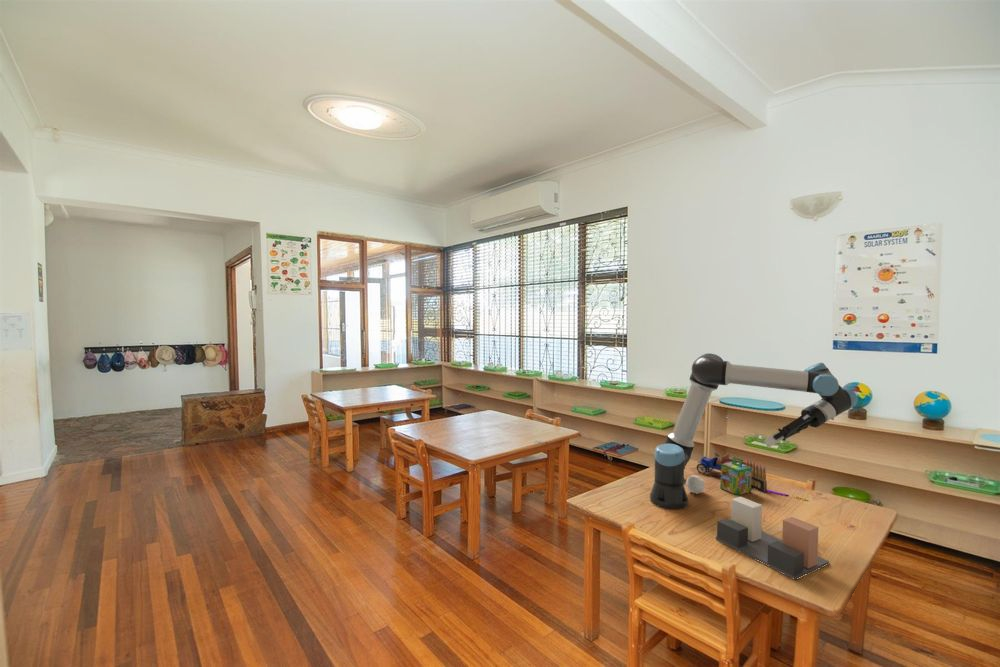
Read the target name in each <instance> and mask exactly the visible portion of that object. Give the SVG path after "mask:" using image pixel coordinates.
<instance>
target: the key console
mask: <svg viewBox="0 0 1000 667" xmlns="http://www.w3.org/2000/svg"><path fill="white" fill-rule="evenodd" d="M716 530H717V531H716V536H715V540H716V541H718V542H720V543H721V544H724V545H726V546H727V547H730V548H731V549H734V550H735V551H737V552H739V551H740V552H739V553H741V552H742V553H741V554H743V553H744V554H743V555H745V556H747V555H748V556H747V557H748V558H751V557H752V558H751V559H753V558H754V559H753V560H755V559H756V560H755V561H757V560H759V561H761V562H763V563H765V564H767V565H769V566H770V567H772V568H774V569H776V570H778V571H780V572H782V573H784V574H786V575H788V576H790V577H792V578H794V579H797V578H799V577H801V576H803V575H805V574H808V573H810V572H812V571H814V570H816V569H818V568H820V567H822V566H824V565H826V564H828V563H829V564H830V560H827V559H826V558H823V557H820V555H818V556H817V565H815V566H813V567H810V568H806V567H804V553H803V552H801V551H799V550H797V549H794V548H792V547H790V546H788V545H786V544H783V543H782V538H779V537H776V536H774V535H772V534H769V533H767V532H765V531H763V530H761V539H758V540H756V541H753V542H752V541H749V540H748V527H746V526H744V525H741V524H739V523H737V522H735V521H733V520H731V518H728V517H725V518H722V519H718V520H717V526H716ZM759 561H758V562H759ZM761 562H760V563H761ZM829 564H828V565H829ZM826 566H827V565H826ZM770 567H769V568H770ZM824 567H825V566H824ZM772 568H771V569H772ZM822 568H823V567H822ZM774 569H773V570H774ZM820 569H821V568H820ZM776 570H775V571H776ZM818 570H819V569H818ZM778 571H777V572H778ZM816 571H817V570H816ZM780 572H779V573H780ZM814 572H815V571H814ZM782 573H781V574H782ZM812 573H813V572H812ZM784 574H783V575H784ZM810 574H811V573H810ZM786 575H785V576H786ZM808 575H809V574H808ZM788 576H787V577H788ZM790 577H789V578H790ZM792 578H791V579H792ZM794 579H793V580H794ZM799 579H800V578H799ZM797 580H798V579H797Z"/></svg>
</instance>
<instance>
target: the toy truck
mask: <svg viewBox="0 0 1000 667" xmlns="http://www.w3.org/2000/svg"><path fill="white" fill-rule="evenodd" d="M732 461H733V458H732V459H731V458H730V453H727V454H725V455H723V456H721V458H720V455H718V453H716V452H715V453H714V457H712V458H710V457H707V456H702V457H701V459H700V460H699V461H697V463H698V464H697V465H696V471H697V472H698V473H699V474H701V473H702V475H706V474H707V473H711V472H712V473H716V474H718V475H721V464H724V463H730V462H732ZM735 462H738V463H740V462H739V461H738V460H736V461H735ZM742 464H744V465H746V461H745V462H744V461H743V463H742ZM752 465H753V463H752ZM719 471H720V472H719Z"/></svg>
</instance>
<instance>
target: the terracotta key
mask: <svg viewBox="0 0 1000 667" xmlns="http://www.w3.org/2000/svg"><path fill="white" fill-rule="evenodd" d="M781 533H782V538H781V540H782V543H783V544H786V545H788V546H790V547H792V548H794V549H797V550H799V551H801V552H803V553H804V567H806V568H810V567H813V566H815V565H817V556H819V555H818V554H819V553H818V552H819V550H818V549H819V526H816V525H814V524H812V523H808V522H806V521H804V520H802V519H798V518H797V517H793V516H791V517H787V518H784V519H782V532H781Z"/></svg>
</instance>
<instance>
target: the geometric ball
mask: <svg viewBox="0 0 1000 667" xmlns="http://www.w3.org/2000/svg"><path fill="white" fill-rule="evenodd" d="M685 486H686V488H687V490H688V491H689V492H691V493H693V494H695V493H696V495H698V494H699V495H700V494H701V493H703V492H704V490H705V489H706V482H705V480H704V479H703V478H702V477H700V476H699V475H695V474H693V475H690V476H689V477H688V478H687V479H686V483H685Z"/></svg>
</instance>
